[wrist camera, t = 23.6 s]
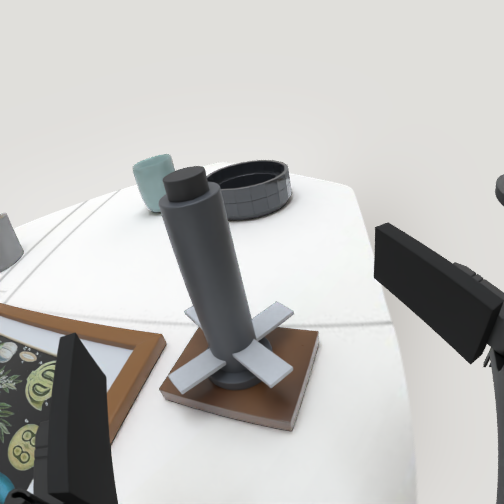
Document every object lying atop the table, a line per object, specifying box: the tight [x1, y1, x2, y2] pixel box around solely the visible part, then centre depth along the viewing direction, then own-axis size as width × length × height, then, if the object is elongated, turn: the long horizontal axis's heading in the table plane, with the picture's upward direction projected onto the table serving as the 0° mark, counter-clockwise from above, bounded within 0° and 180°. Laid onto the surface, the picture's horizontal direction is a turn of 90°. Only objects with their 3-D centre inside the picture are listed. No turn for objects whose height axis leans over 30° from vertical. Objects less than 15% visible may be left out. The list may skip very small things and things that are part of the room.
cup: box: [133, 154, 175, 212], centre depth 60 cm, size 8×8×10 cm
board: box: [159, 327, 319, 431], centre depth 26 cm, size 11×9×2 cm
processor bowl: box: [206, 160, 292, 220], centre depth 55 cm, size 15×15×6 cm
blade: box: [158, 166, 294, 394], centre depth 21 cm, size 11×11×16 cm
